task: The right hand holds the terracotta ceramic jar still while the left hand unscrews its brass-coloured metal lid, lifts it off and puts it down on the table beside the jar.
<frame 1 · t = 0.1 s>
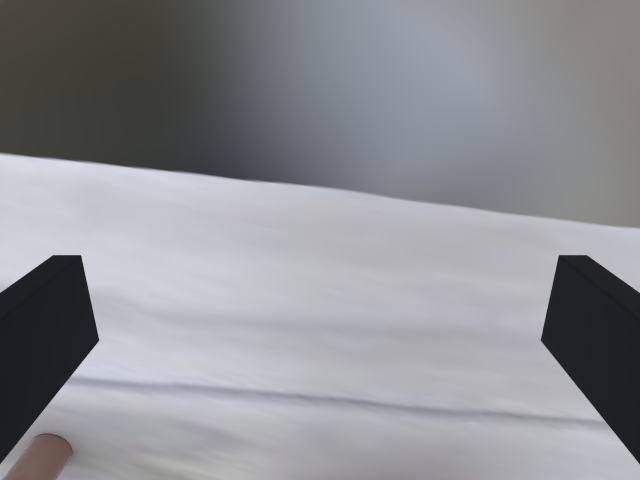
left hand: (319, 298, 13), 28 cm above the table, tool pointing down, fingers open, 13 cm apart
jar: (51, 449, 51), on the table
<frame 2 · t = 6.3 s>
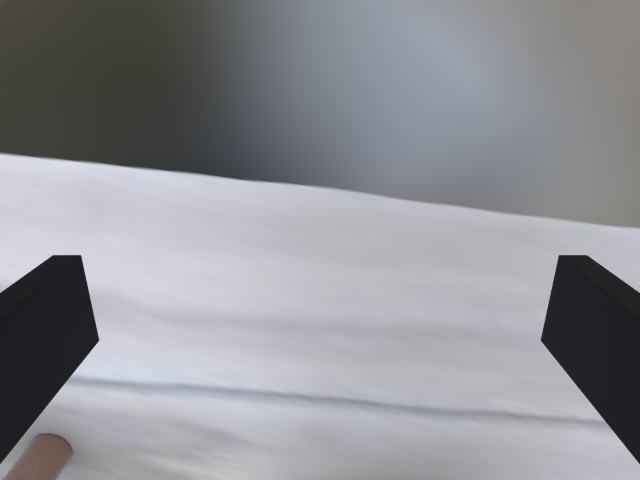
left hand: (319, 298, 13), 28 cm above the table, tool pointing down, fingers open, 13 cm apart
jar: (51, 449, 51), on the table
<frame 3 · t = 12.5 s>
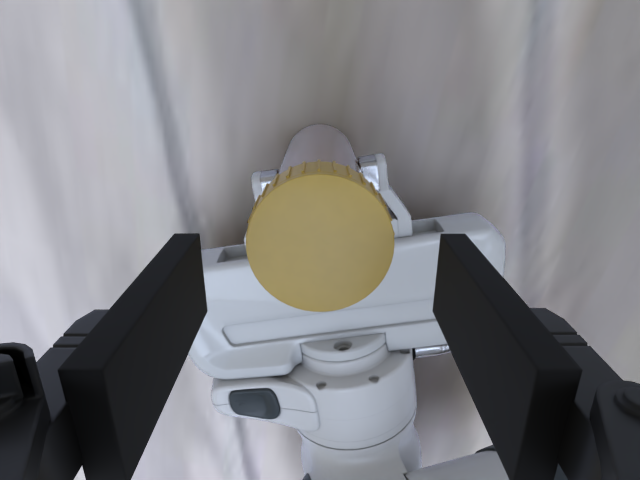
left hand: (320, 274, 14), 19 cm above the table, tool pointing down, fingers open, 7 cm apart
right hand: (316, 164, 25), fingers closed on jar, 5 cm apart
jar: (319, 157, 32), on the table, touching right hand
lid: (320, 243, 16), point 16 cm above the table, screwed on, not yet turned
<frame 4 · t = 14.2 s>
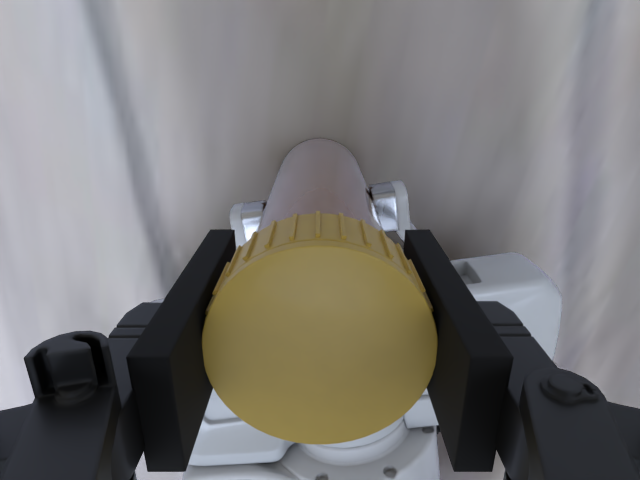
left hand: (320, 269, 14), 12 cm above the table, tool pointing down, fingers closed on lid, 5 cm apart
jar: (319, 179, 26), on the table, touching right hand
lid: (319, 346, 10), point 16 cm above the table, screwed on, not yet turned, touching left hand
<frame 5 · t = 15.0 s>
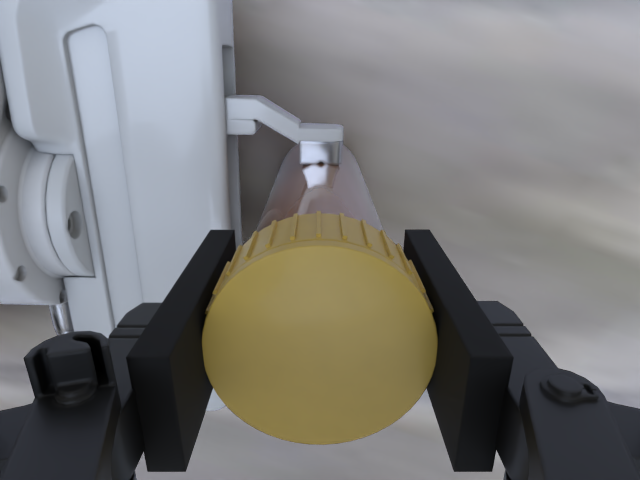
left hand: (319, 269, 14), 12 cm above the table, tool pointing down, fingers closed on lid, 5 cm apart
jar: (319, 178, 26), on the table, touching right hand
lid: (319, 346, 10), point 17 cm above the table, turned 100° so far, risen 0.3 cm, still on its thread, touching left hand
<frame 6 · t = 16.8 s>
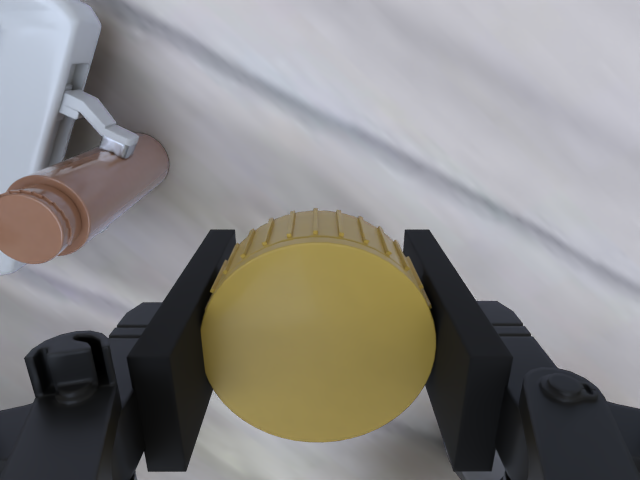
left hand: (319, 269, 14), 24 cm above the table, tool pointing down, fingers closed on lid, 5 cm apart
jar: (141, 161, 37), on the table, touching right hand
lid: (317, 343, 10), point 29 cm above the table, off its thread, touching left hand
when the left hand's fingers open (0 cm above the table, at t = 20.7 s): lid drops 2 cm, point 2 cm above the table.
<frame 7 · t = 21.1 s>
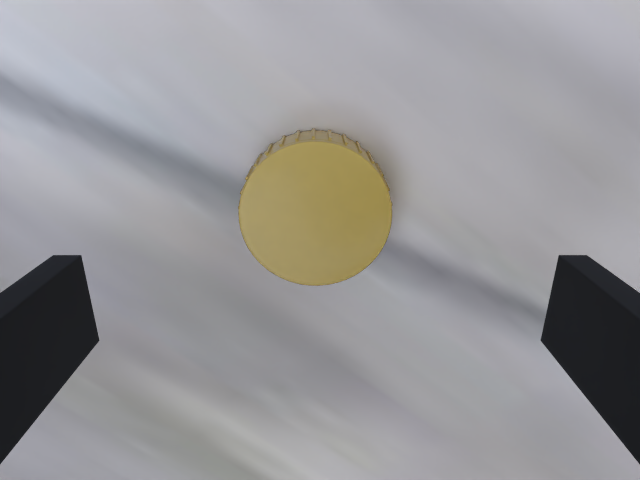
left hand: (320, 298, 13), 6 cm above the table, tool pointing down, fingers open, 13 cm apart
lid: (315, 215, 16), point 2 cm above the table, off its thread
when the right hand's fingers open (6 cm above the table, at t = 21.3 s): jar stays where it is, on the table.
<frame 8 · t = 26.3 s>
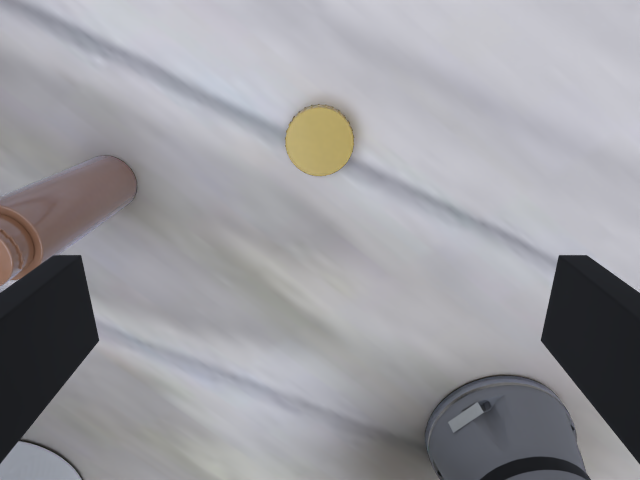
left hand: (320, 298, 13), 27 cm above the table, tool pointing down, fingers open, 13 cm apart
jar: (109, 182, 39), on the table
lid: (319, 142, 35), point 2 cm above the table, off its thread
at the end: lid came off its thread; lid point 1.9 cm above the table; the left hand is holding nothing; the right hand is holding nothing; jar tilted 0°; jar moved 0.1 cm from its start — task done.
